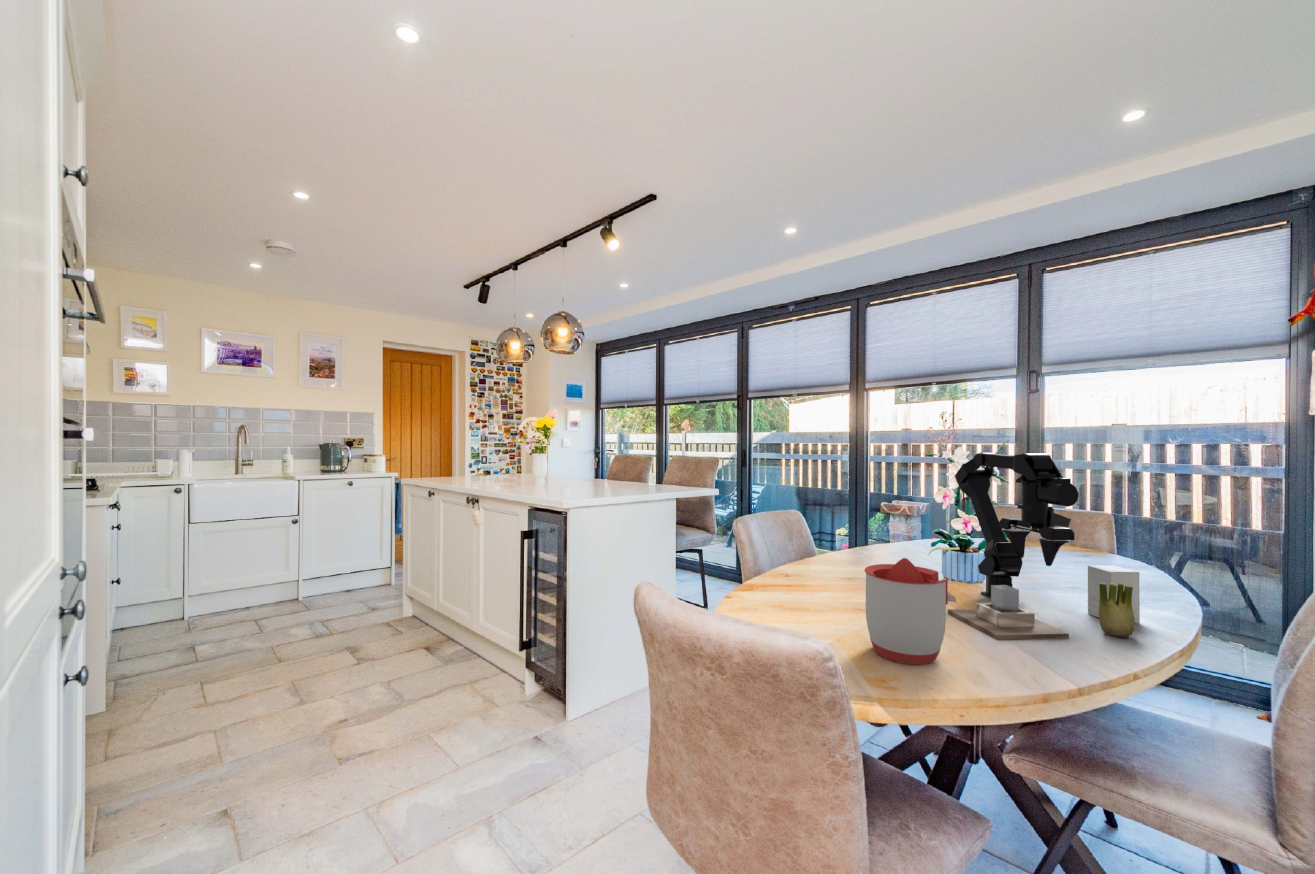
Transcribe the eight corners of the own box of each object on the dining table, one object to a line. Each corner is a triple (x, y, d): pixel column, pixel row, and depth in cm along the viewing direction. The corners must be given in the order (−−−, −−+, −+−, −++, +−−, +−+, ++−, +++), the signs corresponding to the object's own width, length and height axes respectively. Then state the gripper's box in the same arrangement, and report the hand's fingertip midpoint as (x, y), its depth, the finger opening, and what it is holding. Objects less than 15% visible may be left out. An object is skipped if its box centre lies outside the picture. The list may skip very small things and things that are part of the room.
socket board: (947, 613, 137) (947, 597, 137) (1010, 611, 138) (1010, 596, 138) (997, 639, 119) (997, 621, 119) (1069, 637, 120) (1069, 620, 120)
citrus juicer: (969, 675, 101) (969, 569, 101) (871, 666, 104) (872, 564, 104) (942, 644, 116) (942, 552, 116) (858, 637, 120) (858, 548, 120)
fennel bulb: (1096, 633, 123) (1097, 581, 123) (1105, 629, 126) (1105, 578, 126) (1129, 641, 118) (1129, 587, 118) (1136, 637, 121) (1137, 584, 121)
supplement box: (1141, 623, 130) (1141, 572, 130) (1110, 623, 130) (1110, 571, 130) (1115, 613, 137) (1115, 564, 137) (1086, 613, 138) (1086, 564, 138)
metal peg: (990, 617, 130) (991, 585, 130) (1006, 617, 131) (1006, 584, 131) (1002, 623, 126) (1002, 589, 126) (1018, 623, 127) (1018, 589, 127)
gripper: (1095, 506, 130) (1095, 570, 130) (1035, 497, 149) (1035, 553, 148) (1052, 506, 129) (1052, 570, 129) (998, 497, 148) (997, 554, 148)
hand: (1034, 561), depth 139 cm, fingers open, 9 cm apart
